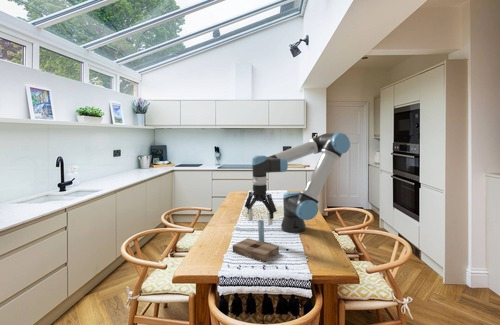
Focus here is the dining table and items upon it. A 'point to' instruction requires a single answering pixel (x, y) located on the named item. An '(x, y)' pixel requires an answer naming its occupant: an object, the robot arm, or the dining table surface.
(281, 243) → the dining table surface
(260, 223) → the peg
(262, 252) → the hole block
